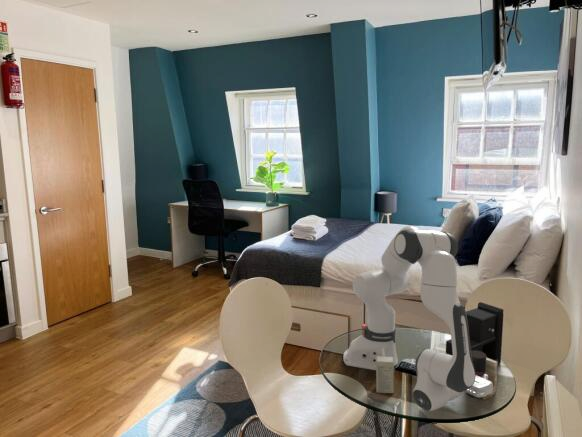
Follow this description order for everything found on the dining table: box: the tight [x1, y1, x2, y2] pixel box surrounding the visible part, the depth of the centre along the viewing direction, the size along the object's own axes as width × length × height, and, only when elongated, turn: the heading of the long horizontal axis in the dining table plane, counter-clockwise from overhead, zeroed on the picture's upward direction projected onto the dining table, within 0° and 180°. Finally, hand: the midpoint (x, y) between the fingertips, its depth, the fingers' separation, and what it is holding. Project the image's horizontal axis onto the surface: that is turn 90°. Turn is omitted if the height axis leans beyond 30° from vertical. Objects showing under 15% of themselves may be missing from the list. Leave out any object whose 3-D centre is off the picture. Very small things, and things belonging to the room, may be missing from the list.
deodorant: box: [466, 350, 486, 399], centre depth 157 cm, size 6×6×15 cm
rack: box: [481, 357, 498, 401], centre depth 159 cm, size 8×9×12 cm
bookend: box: [445, 301, 504, 366], centre depth 175 cm, size 23×11×24 cm, turn 122°
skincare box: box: [375, 356, 395, 394], centre depth 160 cm, size 6×4×12 cm
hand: (473, 371), depth 156 cm, fingers open, 8 cm apart
